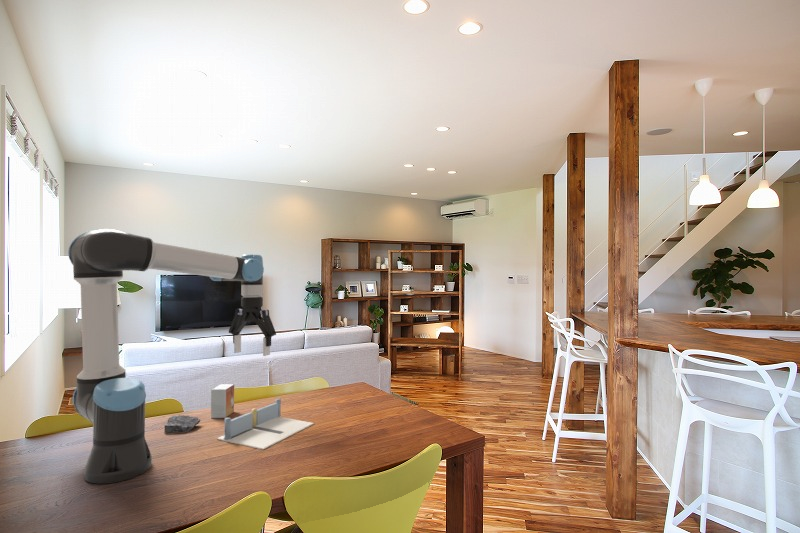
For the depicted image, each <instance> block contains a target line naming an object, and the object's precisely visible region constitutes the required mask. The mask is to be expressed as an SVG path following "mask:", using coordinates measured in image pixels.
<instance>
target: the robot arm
mask: <svg viewBox="0 0 800 533" xmlns="http://www.w3.org/2000/svg"><path fill="white" fill-rule="evenodd" d="M67 252H68V253H67V254H68V259H69V260H70V263H71V264H72V266H73V267H72V268H73V272H72V273H73V280H74V281H76V282H77V283H78V284H79V285H80V302H81V303H80V304H81V305H80V307H81V337H82V338H81V340H82V342H81V344H82V370H81V371H80V372H79V373H78V374H77V375H76V388H75V389H74V391H73V394H72V404H73V407H74V409H75V411H76V412H77V413H78V414H79V415H80V416H81V417H83V418H85V419H87V420H88V421H89V422H92V447H91V450H90V453H89V456H88V458H87V462H86V464H85V466H84V471H83V472H84V473H83V474H84V475H83V476H84V477H83V478H84V480H85V482H88V483H90V484H99V485H100V484H101V485H102V484H103V485H104V484H113V483H119V482H122V481H127V480H129V479H133V478H136V477H137V476H138V477H139V476H140V475H143V474H144V473H145V472H147V471H148V470H149V469H150V468H151V467H152V463H153V462H152V461H153V460H152V459H153V458H152V453H151V451H150V449H149V448H150V447H149V446H148V443H147V440H146V437H145V433H146V432H145V429H146V428H145V427H146V426H145V425H146V422H145V421H146V398H147V393H146V386H145V384H144V383H143V381H141V380H140V379H136V378H129V377H126V375H127V374H126V369H125V368H124V367H123V366H121V365H120V350H119V346H120V344H119V342H120V341H119V316H118V315H119V314H118V313H119V312H118V310H119V308H118V283H119V281H120V280H122V279H123V278H124V274H123V271H135V272H146V271H147V270H157V271H166V272H173V273H174V272H175V273H180V274H181V273H182V274H188V275H197V276H203V277H204V276H205V277H209V279H211V281H214V282H222V281H223V282H227V281H228V282H240V283H241V285H240V286H241V291H240V292H241V293H240V295H241V296H242V297H241V298H240V299H241V300H240V301H241V302H240V307H242V308H236V309H235V312H234V316H233V319H232V320H231V321H232V322H231V324H230V327H229V329H228V333H229V334H231V335H232V339H233V340H232V344H233V347H234V348H233V350H234V351H233V352H234V354H239V353H241V352H242V334H241V332H242V331H243V329H244V327H245V326H246V325H247V323H249V322H251V323H255V324H256V325H257V326H258V328H259V330H260V331H261V332H262V334H263V335H264V337H263V338H262V342H263V343H262V356H263V357H266V356H270V354H271V347H272V337H274V336H277V332H276V329H275V327H274V324H273V322H272V319H271V317H270V310H269V309H262V307H263V306H264V305H263V304H264V303H263V302H264V298H263V297H262V296H263V294H264V293H263V288H264V287H263V284H264V283H263V282H264V281H263V280H264V272H265V271H264V270H265V268H264V261H263V256H262V255H261V254H241V257H239V256H234V255H229V254H223V253H217V252H210V251H205V250H201V249H200V250H199V249H193V248H189V247H183V246H177V245H172V244H167V243H166V244H165V243H159V242H154V241H153V239H152V238H151V237H147V236H143V235H142V236H141V235H137V234H133V233H130V232H124V231H122V230H118V229H109V228H104V229H103V228H102V229H98V230H97V229H96V230H88V231H85V232H83V233H81V234H79V235H78V236H76V237H75V238H73V240H72V241H71V242H70V244H69V246H68V250H67Z"/></svg>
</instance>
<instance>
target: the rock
mask: <svg viewBox="0 0 800 533" xmlns="http://www.w3.org/2000/svg"><path fill="white" fill-rule="evenodd" d="M200 422H201V419H200V418H199V417H195V416H190V415H184V414H183V415H181V414H179V415H172V416H169V418H168V419H167V422H166V424H165V425H164V434H167V435H168V434H169V435H170V434H183V433H189V432H190V431H191V430H192V429H194V427H195V426H197V425H198V424H200Z"/></svg>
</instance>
